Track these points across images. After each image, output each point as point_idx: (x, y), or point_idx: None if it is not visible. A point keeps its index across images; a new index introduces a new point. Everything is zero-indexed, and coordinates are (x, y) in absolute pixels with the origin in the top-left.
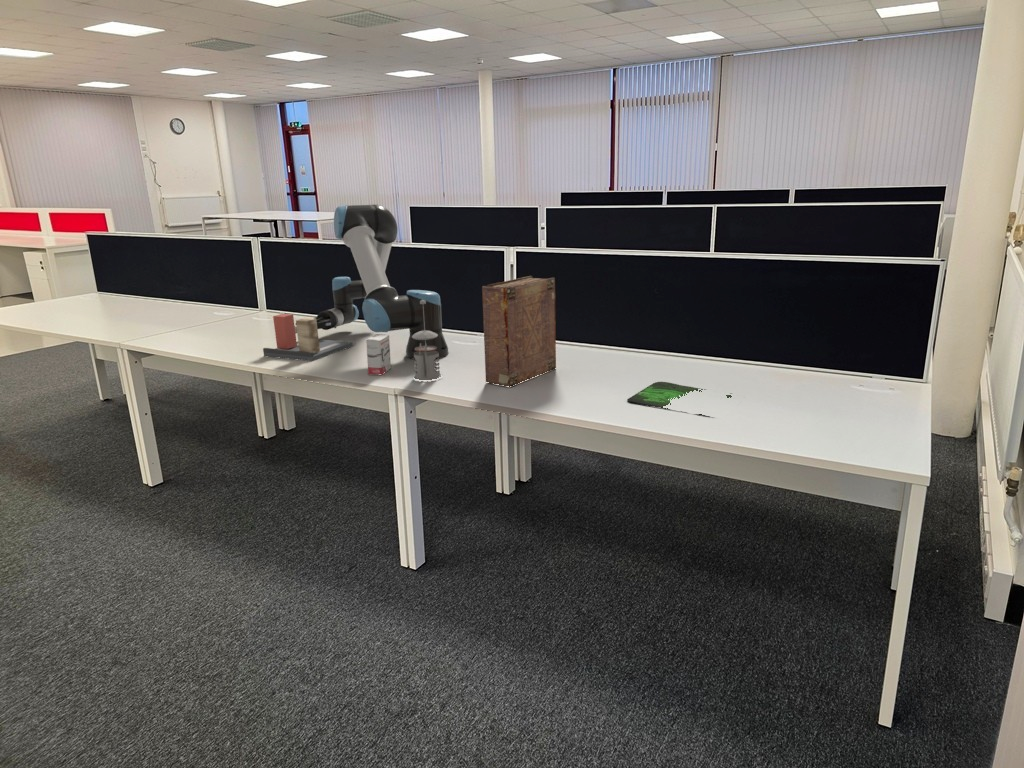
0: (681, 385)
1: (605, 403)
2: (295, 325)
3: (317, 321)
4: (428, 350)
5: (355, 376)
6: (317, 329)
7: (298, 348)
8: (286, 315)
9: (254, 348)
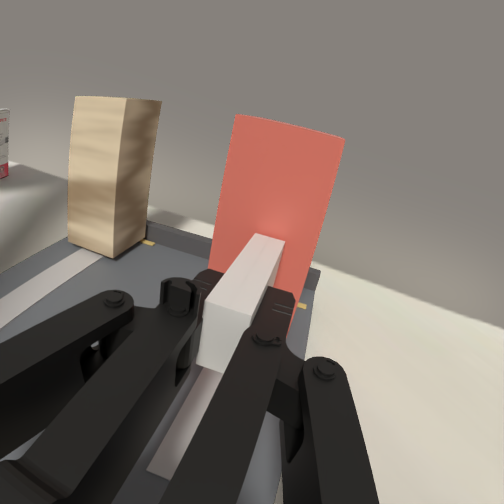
0: None
1: None
2: (262, 276)
3: (6, 480)
4: None
5: (28, 174)
6: (70, 146)
7: None
8: (267, 119)
9: (460, 401)
